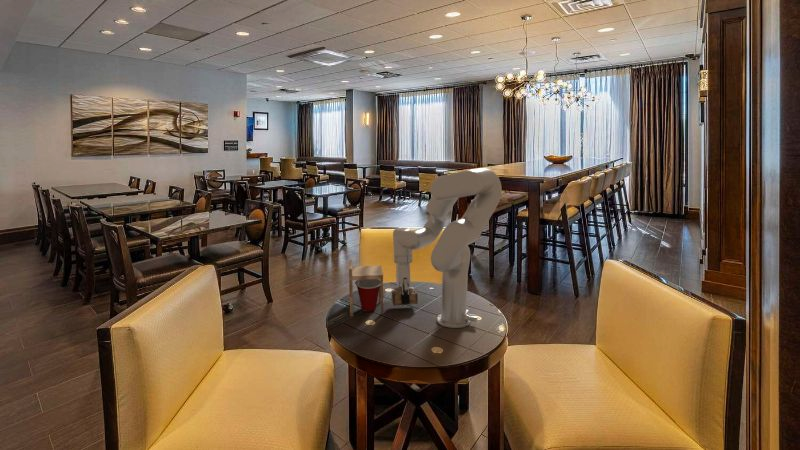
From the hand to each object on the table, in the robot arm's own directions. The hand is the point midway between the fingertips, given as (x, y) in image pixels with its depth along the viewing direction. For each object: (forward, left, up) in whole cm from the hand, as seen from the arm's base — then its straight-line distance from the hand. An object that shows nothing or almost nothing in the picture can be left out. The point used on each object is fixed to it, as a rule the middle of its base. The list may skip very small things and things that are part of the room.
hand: (404, 300), depth 176 cm
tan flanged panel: (+14, +7, -3) cm, 16 cm away
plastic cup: (+13, +7, -4) cm, 15 cm away
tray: (0, 0, -1) cm, 1 cm away
